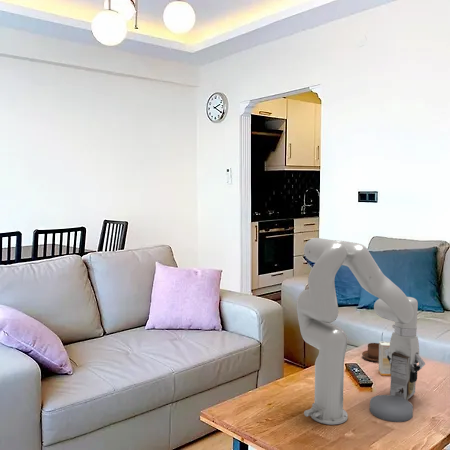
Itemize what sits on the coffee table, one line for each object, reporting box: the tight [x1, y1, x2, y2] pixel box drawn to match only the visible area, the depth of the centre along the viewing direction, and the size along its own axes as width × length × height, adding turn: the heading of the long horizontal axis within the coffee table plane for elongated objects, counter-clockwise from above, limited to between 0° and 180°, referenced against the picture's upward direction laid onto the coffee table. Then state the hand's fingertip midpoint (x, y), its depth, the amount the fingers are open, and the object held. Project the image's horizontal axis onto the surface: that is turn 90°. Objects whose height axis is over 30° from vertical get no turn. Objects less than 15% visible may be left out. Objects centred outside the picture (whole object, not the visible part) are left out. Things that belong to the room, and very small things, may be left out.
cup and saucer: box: [361, 342, 379, 362], centre depth 220 cm, size 12×12×6 cm
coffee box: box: [389, 352, 417, 401], centre depth 180 cm, size 9×6×16 cm
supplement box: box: [378, 340, 391, 377], centre depth 202 cm, size 8×5×13 cm, turn 84°
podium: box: [369, 394, 414, 423], centre depth 169 cm, size 14×14×3 cm
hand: (403, 377), depth 180 cm, fingers closed on coffee box, 7 cm apart
